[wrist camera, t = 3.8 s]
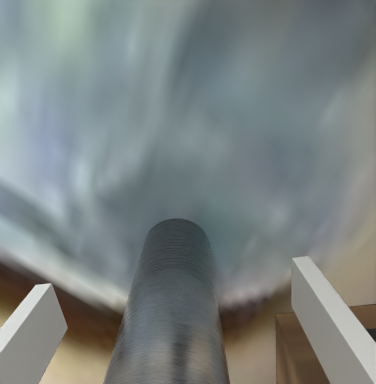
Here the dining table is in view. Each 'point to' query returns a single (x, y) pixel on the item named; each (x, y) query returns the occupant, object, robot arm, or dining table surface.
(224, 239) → the dining table surface
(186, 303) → the peg
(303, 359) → the box
